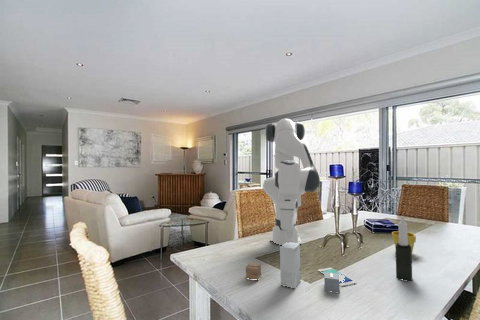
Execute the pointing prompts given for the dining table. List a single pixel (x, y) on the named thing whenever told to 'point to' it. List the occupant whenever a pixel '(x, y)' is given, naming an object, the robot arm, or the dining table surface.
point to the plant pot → (410, 236)
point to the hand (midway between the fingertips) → (290, 236)
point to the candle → (403, 254)
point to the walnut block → (253, 271)
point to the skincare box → (290, 264)
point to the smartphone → (331, 270)
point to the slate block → (331, 282)
